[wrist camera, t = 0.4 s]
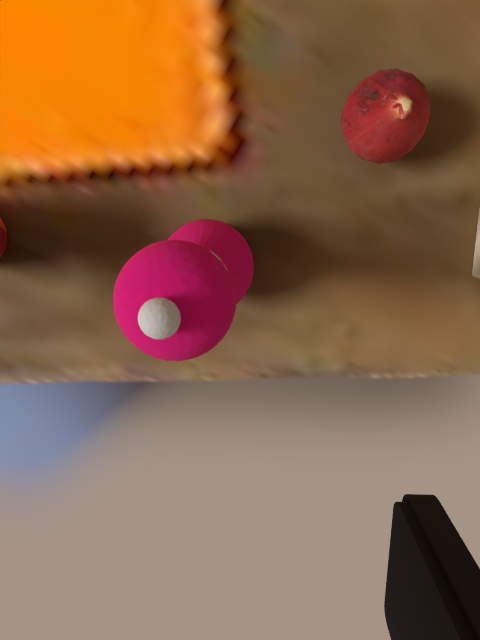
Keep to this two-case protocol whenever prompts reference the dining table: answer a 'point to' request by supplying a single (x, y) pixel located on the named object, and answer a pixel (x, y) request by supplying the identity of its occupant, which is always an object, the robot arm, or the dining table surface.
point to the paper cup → (3, 237)
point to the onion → (385, 115)
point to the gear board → (477, 253)
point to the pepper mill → (183, 290)
